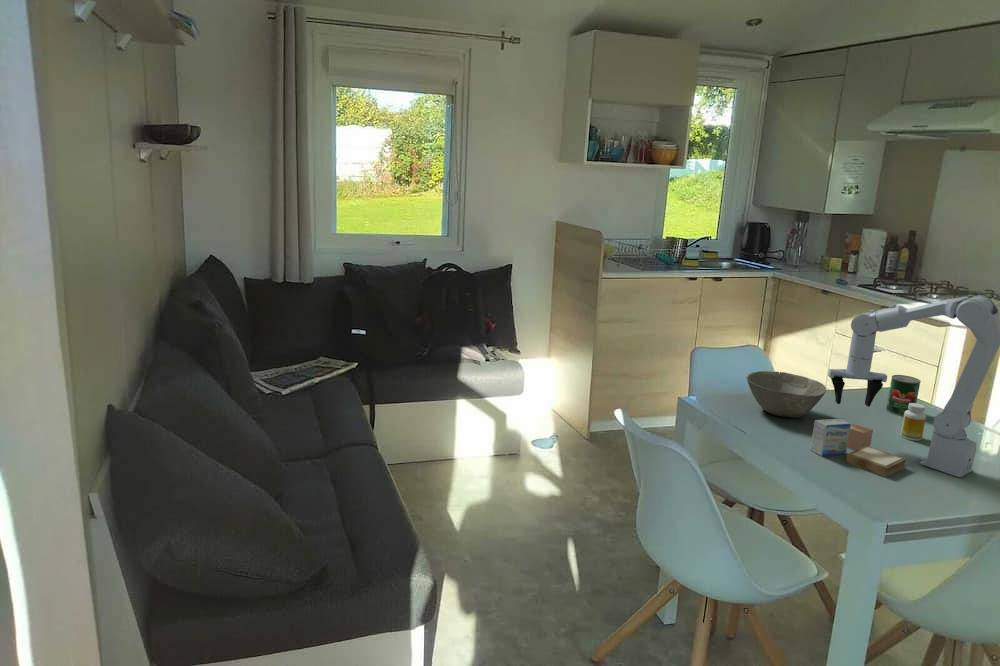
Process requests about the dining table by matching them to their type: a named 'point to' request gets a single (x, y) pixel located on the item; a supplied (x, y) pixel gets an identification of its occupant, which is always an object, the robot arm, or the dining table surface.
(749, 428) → the dining table surface
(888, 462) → the walnut plinth
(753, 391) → the ceramic bowl
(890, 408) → the canned tomato
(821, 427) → the medicine box
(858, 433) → the block
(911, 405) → the supplement bottle
